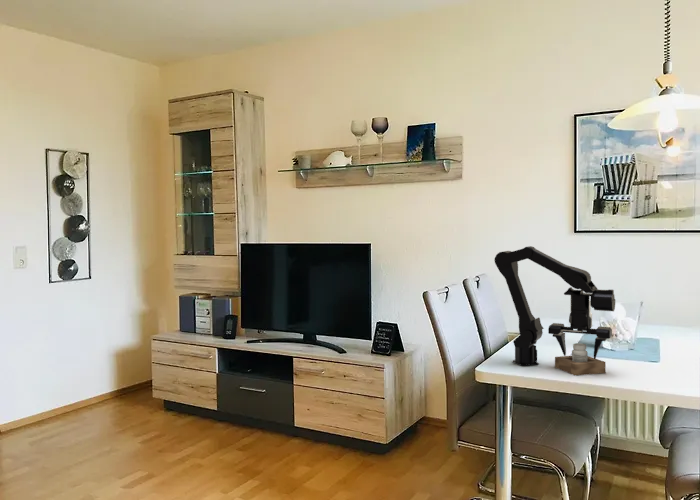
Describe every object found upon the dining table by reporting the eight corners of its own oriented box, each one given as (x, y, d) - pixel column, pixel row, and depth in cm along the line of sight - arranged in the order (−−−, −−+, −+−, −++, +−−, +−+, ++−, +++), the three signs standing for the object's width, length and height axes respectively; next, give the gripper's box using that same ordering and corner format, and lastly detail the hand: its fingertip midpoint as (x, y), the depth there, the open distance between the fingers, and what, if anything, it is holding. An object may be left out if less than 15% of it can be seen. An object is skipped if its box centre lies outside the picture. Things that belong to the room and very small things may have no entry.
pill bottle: (574, 367, 200) (574, 342, 199) (589, 369, 197) (589, 344, 196) (569, 370, 196) (569, 344, 196) (584, 372, 193) (584, 346, 193)
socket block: (575, 375, 190) (575, 364, 190) (555, 367, 201) (555, 356, 200) (605, 372, 193) (605, 362, 192) (584, 364, 203) (584, 354, 203)
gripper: (614, 307, 198) (614, 355, 198) (555, 304, 207) (555, 349, 208) (609, 312, 188) (609, 362, 189) (548, 308, 198) (547, 355, 199)
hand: (579, 356), depth 196 cm, fingers open, 9 cm apart
